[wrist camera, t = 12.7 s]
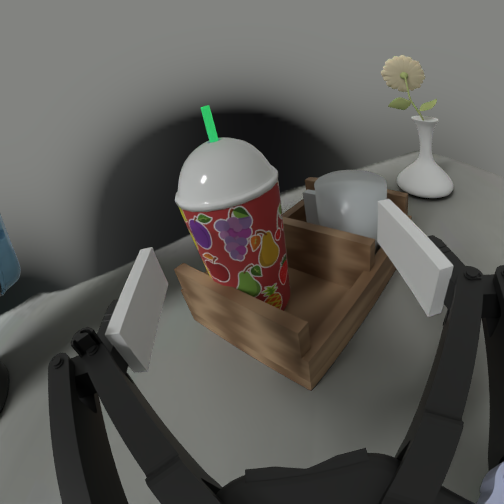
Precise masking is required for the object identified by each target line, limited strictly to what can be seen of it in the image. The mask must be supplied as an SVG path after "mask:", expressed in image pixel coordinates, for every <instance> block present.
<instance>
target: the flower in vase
mask: <svg viewBox="0 0 504 504" xmlns="http://www.w3.org/2000/svg"><path fill="white" fill-rule="evenodd" d="M383 69H384V70H383V71H381V75H382V76H383V77H384V78H383V79H384V80H385V81H387V83H386V84H387V85H388V86H389V87H391V88H392V89H397V88H398V91H402V92H408V96H409V100H410V101H409V100H406V99H404V98H396V99H395V100H393V101H392V102H391V103H390V104H389V106H388V107H392V108H396V109H401V110H405V109H407V108H408V106H410V104H411V103H412V105H413V106H414V108H415V109H416V110H417V112H418V113H419V115H420V116H413V117H412V119H413V121H414V122H415V124H416V126H417V129H418V133H419V138H420V154H419V157H418V159H417V160H416V161H415V162H413V163H412V164H411V165H409V166H408V167H406V168H405V169H404V170H403V171H402V172H401V173H400V174H399V175H398V177H397V180H396V181H397V184H398V185H399V187H400V188H401V189H402V190H403V191H405V192H407V193H409V194H412V195H415V196H418V197H423V198H440V197H444V196H447V195H449V194H450V193H451V192H452V190H453V189H454V186H453V182H452V180H451V179H450V177H449V176H448V175H447V174H446V172H445V171H444V170H443V169H442V168H441V167H439V166H438V164H437V163H436V162H435V161H434V159H433V156H432V135H433V130H434V127H435V125H436V124H437V122H438V121H439V120H438V119H437V118H434V117H429V116H422V115H421V113H420V112H419V111H425V110H429V109H431V108H432V107H434V106H435V104H436V101H437V99H435V100H433V101H430V102H427V103H424V104H422V105H421V107H420V110H418V109H417V108H416V106H415V105H414V103H413V102H412V100H411V97H410V94H409V89H410V90H411V91H413V90H414V89H416V88H420V86H421V85H420V84H422V83H423V80H424V79H425V76H424V72H423V70H422V67H421V65H420V64H419V62H418V61H415V60H412V58H411V57H405V56H404V55H401V56H400V57H397V56H394V57H393V59H388V60H387V61H386V62H385V66H383Z"/></svg>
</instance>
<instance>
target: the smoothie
mask: <svg viewBox="0 0 504 504" xmlns="http://www.w3.org/2000/svg"><path fill="white" fill-rule="evenodd" d="M201 111H202V115H203V118H204V122H205V125H206V128H207V133H208V137H209V141H207V142H205V143H204V144H202V145H201V146H199V147H198V148H196V149H195V150H194V151H193V152H192V153H191V154H190V156H189V157H188V158H187V159H186V161H185V163H184V165H183V167H182V170H181V173H180V177H179V185H178V192H177V193H176V198H175V202H176V204H177V205H178V206H179V208H180V211H181V214H182V216H183V218H184V220H185V223H186V225H187V227H188V229H189V232H190V234H191V236H192V239H193V241H194V243H195V245H196V247H197V250H198V252H199V254H200V256H201V258H202V261H203V263H204V265H205V267H206V269H207V271H208V274H209V276H210V277H211V278H212V279H213V280H214V281H215V282H217V283H219V284H221V285H223V286H230V287H234V288H236V289H238V290H240V291H242V292H244V293H246V294H248V295H250V296H253V297H255V298H257V299H259V300H261V301H263V302H265V303H267V304H270V305H272V306H274V307H276V308H278V309H281V310H283V311H284V310H285V308H286V305H287V303H288V301H289V299H290V283H289V273H288V263H287V253H286V244H285V235H284V226H283V217H282V209H281V200H280V192H279V184H278V171H277V170H276V169H275V168H274V167H273V166H271V165H270V164H269V162H268V161H267V159H266V158H265V157H264V156H263V154H262V153H260V152H259V151H258V150H257V149H256V148H255V147H254V146H252V145H251V144H249V143H247V142H245V141H242V140H238V139H233V138H218V137H217V133H216V130H215V125H214V122H213V118H212V114H211V111H210V107H209V105H208V106H204V107H201Z"/></svg>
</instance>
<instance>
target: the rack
mask: <svg viewBox="0 0 504 504" xmlns="http://www.w3.org/2000/svg"><path fill="white" fill-rule="evenodd" d="M317 179H318V178H312V177H309V178H307V179H306V180H305V184H306V190H307V189H308V190H314V191H315V188H314V183H315V181H316V180H317ZM387 199H390V200H391V201H392V202H393V203H394V204H395V205H396V206H397V207H398V208H399V209H400V210H401V211H402V212H403V213H404V214H406V215H407V212H408V193H404V192H399V191H394V190H388V189H387ZM407 216H408V217H409V218H410V219H411V217H412V216H409V215H407ZM282 217H283V226H284V235H285V244H286V253H287V263H288V273H289V283H290V299H289V301H288V303H287V305H286V308H285V310H284V311H283V310H281V309H278V308H276V307H274V306H272V305H270V304H267V303H265V302H263V301H261V300H259V299H257V298H255V297H253V296H250V295H248V294H246V293H244V292H242V291H240V290H238V289H236V288H234V287H230V286H223V285H221V284H219V283H217V282H215V281H214V280H213V279H212V278H211V277H210V276H209V274H208V271H206V272H204V273H203V272H201V271H199V270H197V269H195V268H193V267H191V266H189V265H187V264H185V263H182V264H181V265H179V266H178V267H177V268H175V269H174V270H175V273H176V275H177V277H178V280H179V282H180V284H181V286H182V290H181V292H182V294H183V296H184V298H185V300H186V303H187V305H188V307H189V309H190V311H191V313H192V315H193V317H194V319H195V320H196V321H198V322H199V323H200V324H202V325H203V326H205V327H206V328H208V329H209V330H211V331H212V332H214V333H216V334H217V335H219V336H220V337H222V338H223V339H225V340H226V341H228V342H229V343H231V344H233V345H234V346H236V347H237V348H239V349H240V350H242V351H244V352H245V353H247V354H249V355H250V356H252V357H253V358H255V359H257V360H258V361H260V362H262V363H263V364H265V365H267V366H268V367H270V368H272V369H273V370H275V371H277V372H279V373H280V374H282V375H284V376H285V377H287V378H289V379H291V380H293V381H294V382H296V383H298V384H300V385H301V386H303V387H305V388H307V389H309V390H311V391H312V389H313V388H314V387H315V386H316V384H317V383H318V382H319V381H320V379H321V378H322V377H323V376H324V374H325V373H326V372H327V371H328V369H329V368H330V367H331V365H332V364H333V363H334V361H335V360H336V359H337V357H338V356H339V355H340V353H341V352H342V351H343V349H344V348H345V346H346V345H347V344H348V342H349V341H350V339H351V338H352V337H353V335H354V334H355V332H356V331H357V329H358V328H359V327H360V325H361V324H362V322H363V321H364V319H365V318H366V316H367V315H368V313H369V312H370V310H371V309H372V307H373V306H374V304H375V302H376V301H377V299H378V298H379V296H380V295H381V293H382V291H383V290H384V288H385V286H386V285H387V283H388V282H389V280H390V278H391V277H392V275H393V273H394V272H395V270H396V267H395V266H394V264H393V263H392V261H391V260H390V259H389V257H388V256H387V254H386V253H385V252H384V250H383V249H382V247H380V249H379V250H378V252H377V253H376V255H375V239H372V238H368V237H365V236H361V235H357V234H353V233H349V232H345V231H341V230H337V229H333V228H329V227H325V226H320V225H316V224H312V223H308V222H307V221H306V213H305V206H304V199H302V200H301V201H300V202H298V203H297V204H296V205H294V206H293V207H292V208H290V209H289V210H288V211H286V212H285V213H283V214H282Z"/></svg>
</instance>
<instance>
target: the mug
mask: <svg viewBox="0 0 504 504" xmlns="http://www.w3.org/2000/svg"><path fill="white" fill-rule="evenodd" d="M314 188H315V191H314V190H308V189H307V190H306V191H304V192H303V198H304V206H305V213H306V221H307V222H308V223H312V224H316V225H320V226H325V227H329V228H333V229H337V230H341V231H345V232H349V233H353V234H357V235H361V236H365V237H368V238H372V239H375V255H376V253H377V252H378V250H379V249H380V247H381V246H380V245H379V243H378V242H377V234H378V201H380V200H386V199H387V182H386V180H385V179H384V178H383V177H382V176H380V175H378V174H376V173H373V172H369V171H363V170H343V171H336V172H332V173H329V174H326V175H323V176H322V177H320V178H318V179H317V180H316V181H315V183H314Z"/></svg>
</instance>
